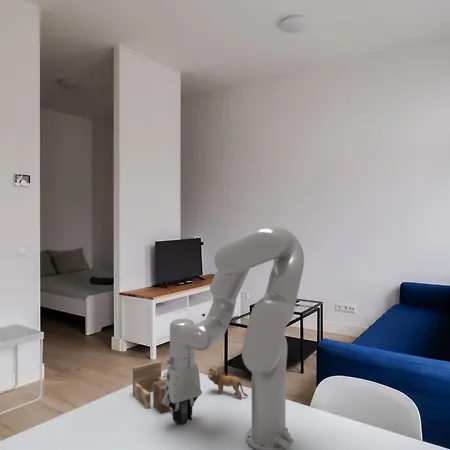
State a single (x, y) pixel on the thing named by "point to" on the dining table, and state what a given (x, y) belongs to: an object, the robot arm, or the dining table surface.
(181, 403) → the wooden lever toy
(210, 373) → the lion figurine
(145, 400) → the wooden stand
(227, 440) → the dining table surface
